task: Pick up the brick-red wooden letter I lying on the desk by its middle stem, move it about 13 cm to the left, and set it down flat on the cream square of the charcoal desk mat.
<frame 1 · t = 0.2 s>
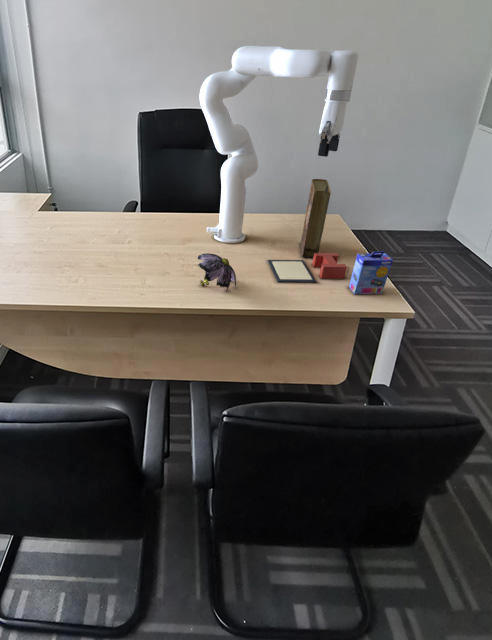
hand: (327, 153, 163), 37 cm above the table, tool pointing down, fingers open, 9 cm apart
desk mat: (291, 271, 173), on the table
decorative flower: (215, 286, 163), on the table
book: (308, 251, 189), on the table
ink cartridge box: (365, 291, 161), on the table
letter I: (327, 271, 173), on the table
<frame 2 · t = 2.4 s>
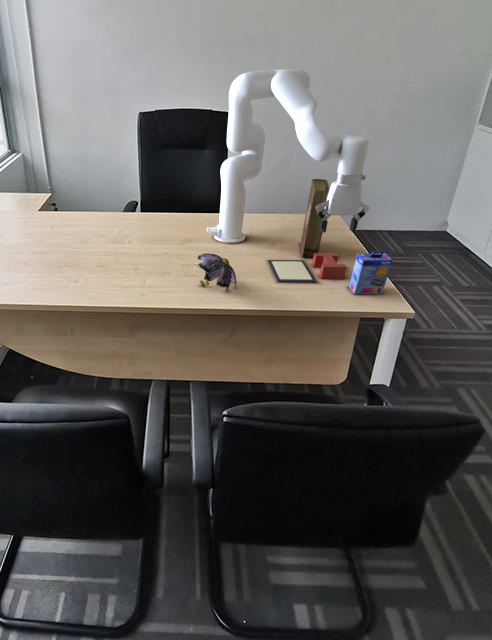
hand: (337, 231, 164), 15 cm above the table, tool pointing down, fingers open, 9 cm apart
nothing on the table moved.
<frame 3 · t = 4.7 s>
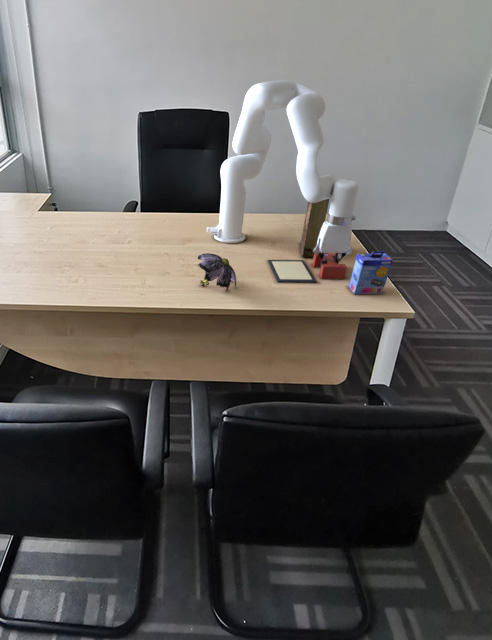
hand: (328, 269, 173), 1 cm above the table, tool pointing down, fingers closed on letter I, 3 cm apart
letter I: (327, 271, 173), on the table, touching gripper
everything else where it was.
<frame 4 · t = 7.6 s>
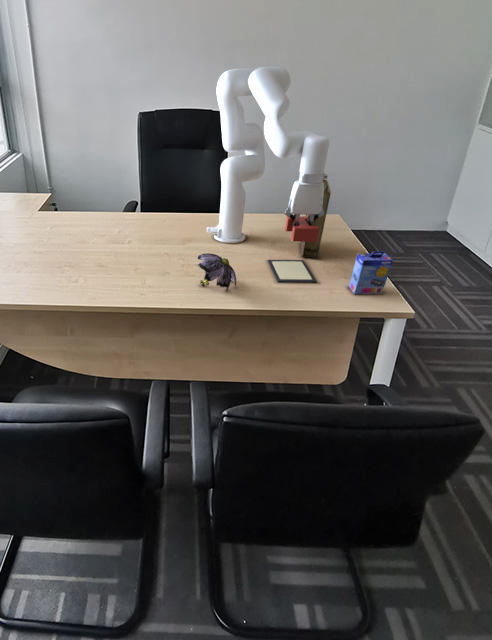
hand: (300, 233, 165), 14 cm above the table, tool pointing down, fingers closed on letter I, 3 cm apart
letter I: (300, 235, 165), point 13 cm above the table, touching gripper
everything else where it was.
when the fingers open (1 cm above the table, at t = 10.7 s): letter I stays where it is, resting on desk mat.
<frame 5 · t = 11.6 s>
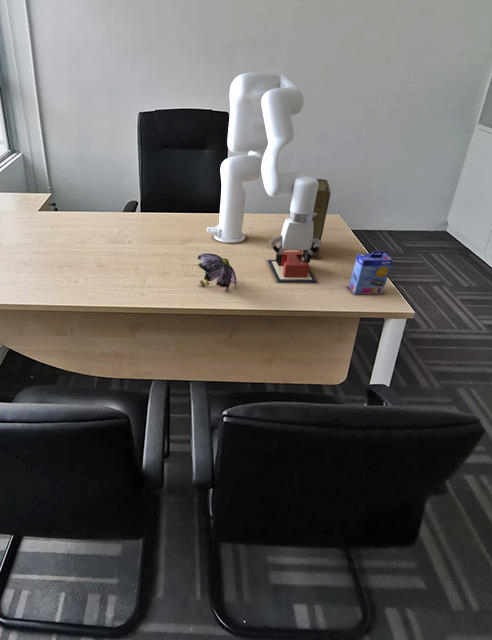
hand: (292, 264, 172), 3 cm above the table, tool pointing down, fingers open, 9 cm apart
letter I: (291, 270, 173), resting on desk mat
everything else where it was.
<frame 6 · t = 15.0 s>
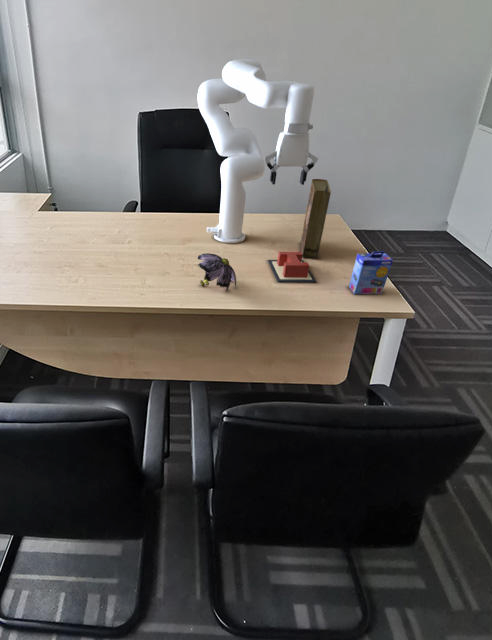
hand: (287, 183, 164), 28 cm above the table, tool pointing down, fingers open, 9 cm apart
nothing on the table moved.
at the end: letter I inside the target area on the desk mat (0.1 cm from its centre), point 0.5 cm above the desk mat's base; letter I tilted 0°; the gripper is holding nothing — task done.
